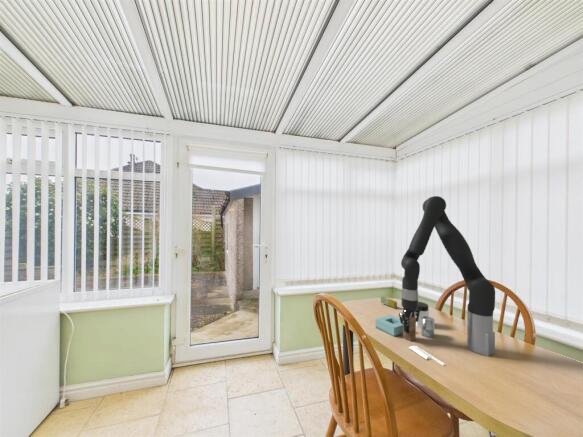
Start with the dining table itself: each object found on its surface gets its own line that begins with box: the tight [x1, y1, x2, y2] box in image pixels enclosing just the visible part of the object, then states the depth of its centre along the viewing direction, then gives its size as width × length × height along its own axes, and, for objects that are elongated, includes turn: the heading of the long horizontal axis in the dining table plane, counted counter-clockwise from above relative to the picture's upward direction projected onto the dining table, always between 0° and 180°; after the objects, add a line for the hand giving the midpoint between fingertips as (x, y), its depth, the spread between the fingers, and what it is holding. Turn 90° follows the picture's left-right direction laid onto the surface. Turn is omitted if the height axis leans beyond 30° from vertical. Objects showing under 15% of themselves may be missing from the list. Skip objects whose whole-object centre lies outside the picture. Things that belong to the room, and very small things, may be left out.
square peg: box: [402, 316, 417, 342], centre depth 119 cm, size 4×4×12 cm
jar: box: [416, 301, 430, 328], centre depth 136 cm, size 9×8×12 cm
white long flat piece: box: [408, 345, 447, 367], centre depth 103 cm, size 5×15×1 cm, turn 17°
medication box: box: [380, 296, 398, 309], centre depth 167 cm, size 12×3×4 cm, turn 27°
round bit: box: [420, 316, 435, 339], centre depth 123 cm, size 6×6×9 cm
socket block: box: [375, 314, 403, 338], centre depth 129 cm, size 12×12×5 cm
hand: (409, 331), depth 119 cm, fingers closed on square peg, 4 cm apart
